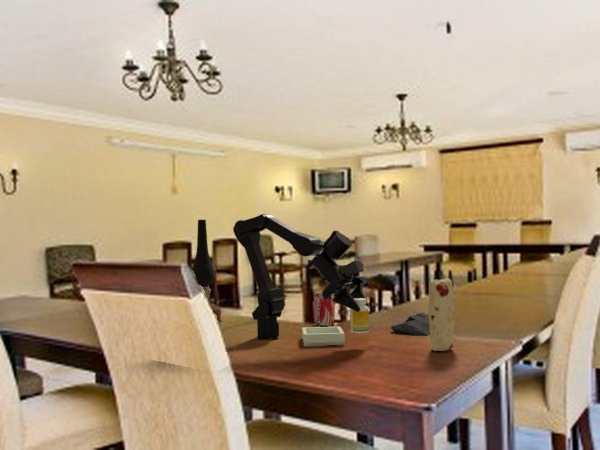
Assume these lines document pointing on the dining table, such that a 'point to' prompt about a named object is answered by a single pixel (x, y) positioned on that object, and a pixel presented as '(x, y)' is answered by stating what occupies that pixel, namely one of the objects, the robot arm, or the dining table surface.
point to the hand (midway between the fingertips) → (363, 309)
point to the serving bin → (323, 336)
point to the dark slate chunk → (414, 325)
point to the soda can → (323, 310)
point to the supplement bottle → (359, 318)
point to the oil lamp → (204, 265)
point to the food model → (441, 314)
